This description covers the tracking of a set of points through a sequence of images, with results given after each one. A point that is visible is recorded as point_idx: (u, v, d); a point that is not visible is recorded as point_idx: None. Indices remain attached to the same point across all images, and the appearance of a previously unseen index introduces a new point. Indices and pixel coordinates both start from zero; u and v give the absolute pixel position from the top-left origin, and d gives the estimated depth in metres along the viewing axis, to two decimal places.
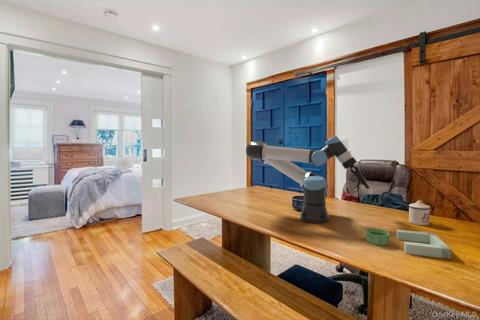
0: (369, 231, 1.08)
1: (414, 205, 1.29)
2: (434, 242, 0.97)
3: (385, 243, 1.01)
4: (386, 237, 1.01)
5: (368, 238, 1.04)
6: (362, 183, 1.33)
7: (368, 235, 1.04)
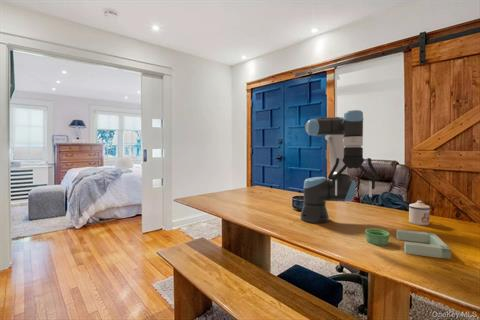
0: (369, 231, 1.08)
1: (414, 205, 1.29)
2: (434, 242, 0.97)
3: (385, 243, 1.01)
4: (386, 237, 1.01)
5: (368, 238, 1.04)
6: None
7: (368, 235, 1.04)
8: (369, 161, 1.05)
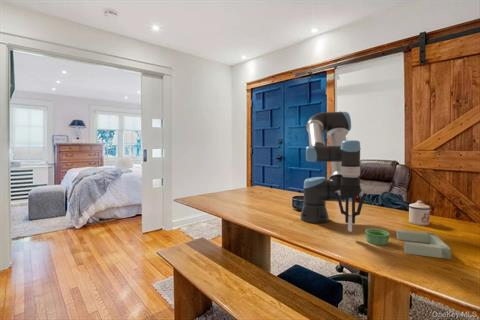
0: (369, 231, 1.08)
1: (414, 205, 1.29)
2: (434, 242, 0.97)
3: (385, 243, 1.01)
4: (386, 237, 1.01)
5: (368, 238, 1.04)
6: None
7: (368, 235, 1.04)
8: (363, 196, 1.05)
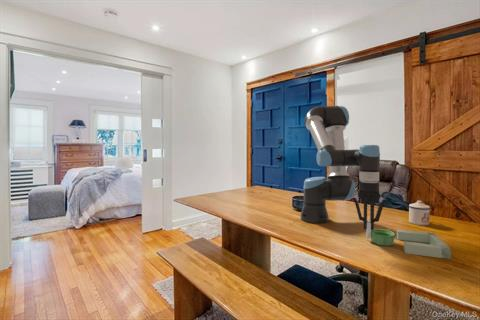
0: (374, 231, 1.08)
1: (414, 205, 1.29)
2: (434, 242, 0.97)
3: (390, 243, 1.00)
4: (391, 237, 1.00)
5: (373, 238, 1.03)
6: None
7: (373, 235, 1.03)
8: (383, 202, 1.02)
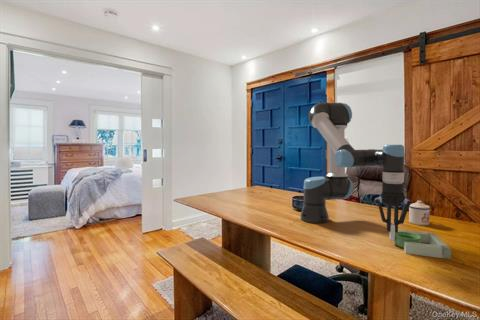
0: (398, 234, 1.04)
1: (414, 205, 1.29)
2: (434, 242, 0.97)
3: None
4: (417, 240, 0.96)
5: (397, 241, 1.00)
6: None
7: (397, 238, 1.00)
8: (408, 203, 0.99)
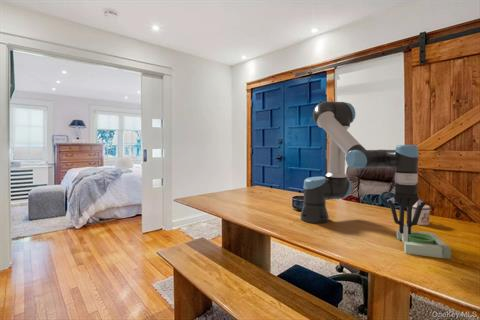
0: (411, 235, 1.02)
1: (414, 205, 1.29)
2: (434, 242, 0.97)
3: None
4: (431, 242, 0.95)
5: None
6: None
7: (410, 239, 0.98)
8: (422, 205, 0.97)
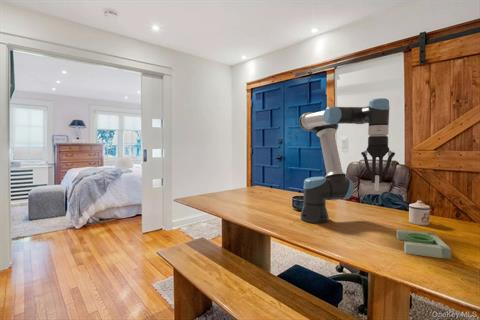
0: (411, 235, 1.02)
1: (414, 205, 1.29)
2: (434, 242, 0.97)
3: None
4: (431, 242, 0.95)
5: None
6: None
7: (410, 240, 0.98)
8: (392, 155, 1.04)
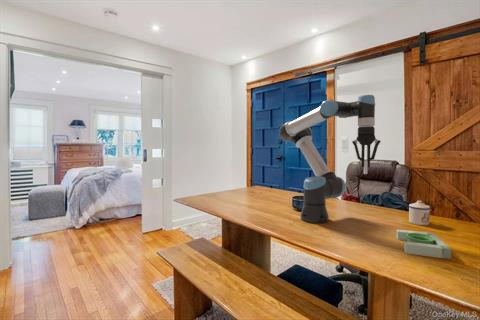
0: (411, 235, 1.02)
1: (414, 205, 1.29)
2: (434, 242, 0.97)
3: None
4: (431, 242, 0.95)
5: None
6: None
7: (410, 240, 0.98)
8: (377, 142, 1.22)
